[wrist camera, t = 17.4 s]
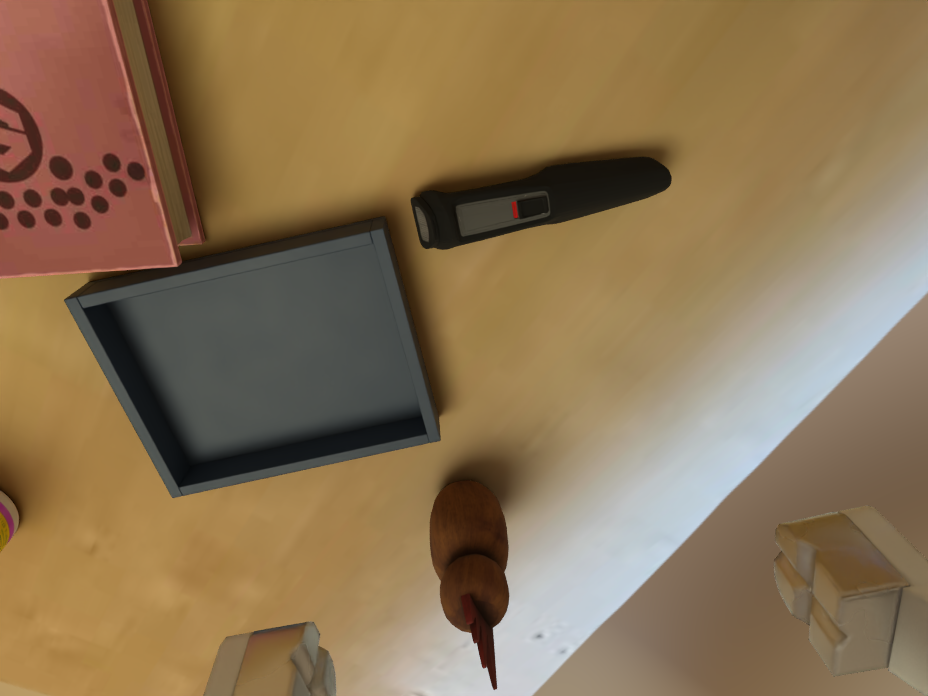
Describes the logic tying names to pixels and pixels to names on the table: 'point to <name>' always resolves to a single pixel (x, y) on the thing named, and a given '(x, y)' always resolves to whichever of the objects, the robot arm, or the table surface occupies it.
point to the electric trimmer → (535, 200)
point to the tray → (264, 357)
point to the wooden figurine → (471, 562)
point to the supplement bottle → (7, 519)
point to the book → (88, 142)
